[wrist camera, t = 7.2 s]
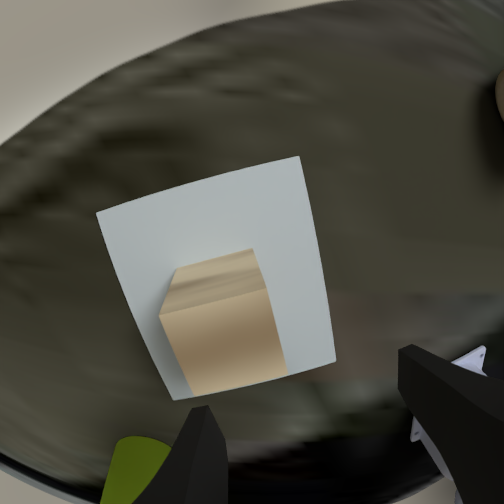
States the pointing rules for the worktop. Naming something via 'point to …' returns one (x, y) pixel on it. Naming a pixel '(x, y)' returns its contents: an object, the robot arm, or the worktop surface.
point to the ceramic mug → (500, 93)
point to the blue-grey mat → (222, 243)
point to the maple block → (222, 324)
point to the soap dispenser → (132, 468)
